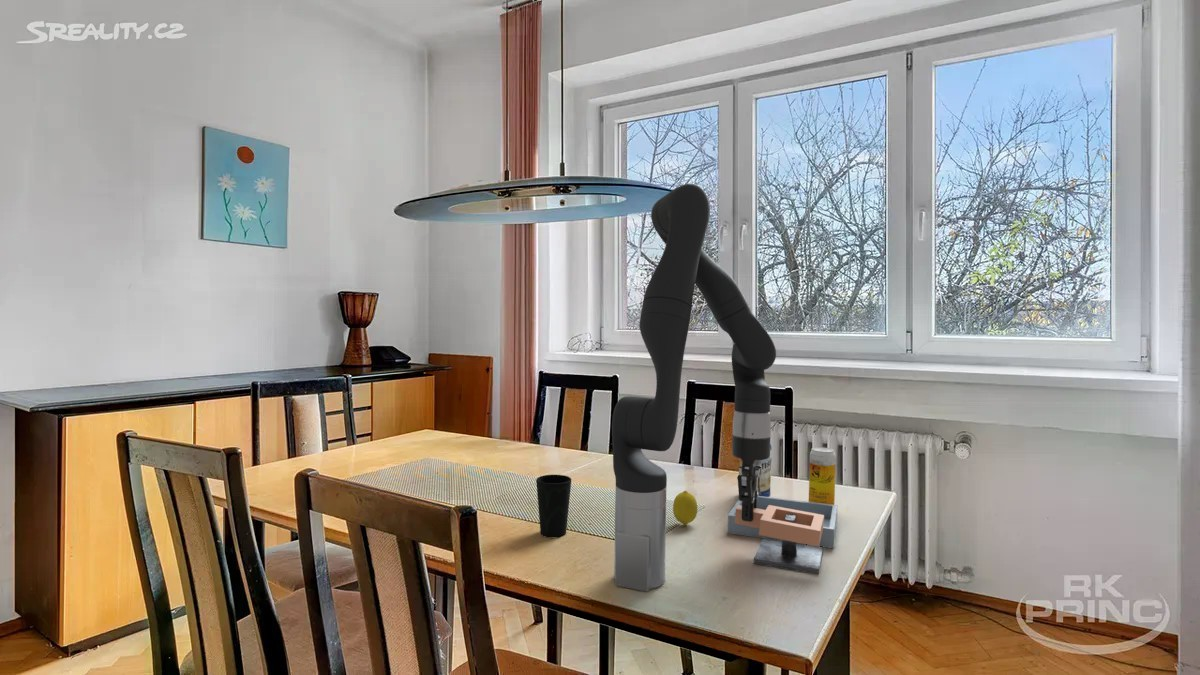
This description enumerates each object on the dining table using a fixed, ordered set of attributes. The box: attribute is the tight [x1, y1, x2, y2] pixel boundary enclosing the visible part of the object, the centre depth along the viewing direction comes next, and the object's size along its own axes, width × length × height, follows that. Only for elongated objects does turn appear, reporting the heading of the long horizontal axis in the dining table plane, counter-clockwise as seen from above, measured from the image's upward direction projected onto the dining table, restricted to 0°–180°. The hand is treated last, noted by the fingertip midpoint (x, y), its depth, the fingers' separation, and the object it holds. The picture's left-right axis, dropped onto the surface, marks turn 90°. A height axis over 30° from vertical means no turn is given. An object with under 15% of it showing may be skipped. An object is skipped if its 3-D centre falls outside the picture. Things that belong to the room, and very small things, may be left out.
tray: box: [727, 496, 838, 549], centre depth 145 cm, size 18×22×4 cm
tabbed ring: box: [735, 505, 824, 547], centre depth 127 cm, size 11×16×3 cm, turn 67°
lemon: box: [672, 490, 698, 526], centre depth 146 cm, size 6×6×8 cm
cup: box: [535, 474, 572, 538], centre depth 139 cm, size 8×8×12 cm
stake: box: [753, 514, 824, 575], centre depth 127 cm, size 12×12×8 cm
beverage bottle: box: [738, 443, 773, 497], centre depth 169 cm, size 8×8×20 cm
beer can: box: [808, 446, 837, 505], centre depth 159 cm, size 6×6×15 cm
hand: (749, 517), depth 129 cm, fingers closed on tabbed ring, 3 cm apart
